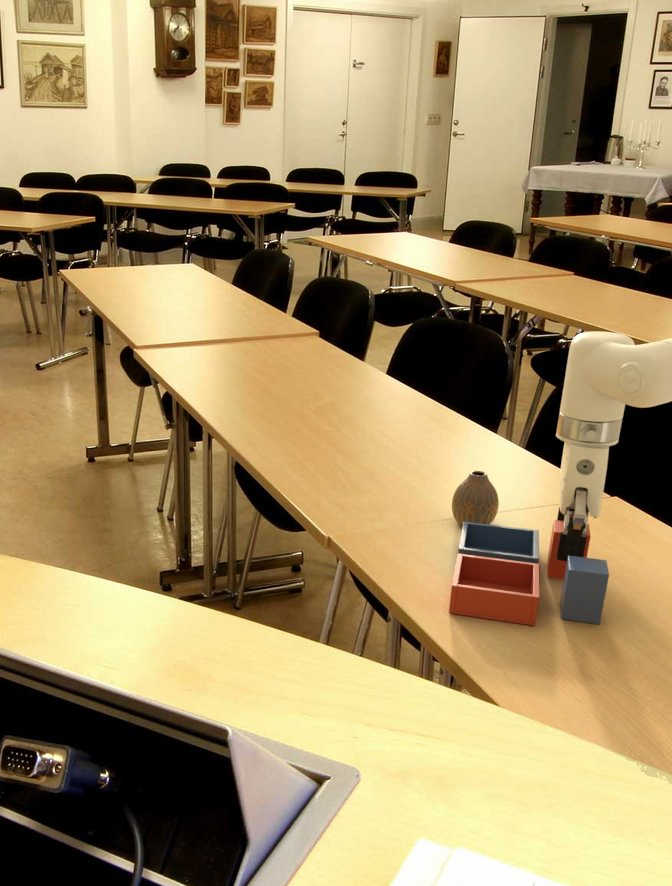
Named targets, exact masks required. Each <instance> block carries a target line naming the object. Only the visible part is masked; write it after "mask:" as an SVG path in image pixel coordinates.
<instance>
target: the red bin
mask: <svg viewBox="0 0 672 886" xmlns="http://www.w3.org/2000/svg"><path fill="white" fill-rule="evenodd" d="M539 602H540V563H538V564H536V563H534V564H533V563H528V562H521V561H513V560H505V559H497V558H489V557H482V556H474V555H466V554H458V553H457V556H456V560H455V566H454V572H453V577H452V583H451V589H450V599H449V606H448V607H449V608H448V613H449V614H455V615H461V616H467V617H474V618H480V619H487V620H493V621H500V622H505V623H506V622H508V623H512V624H513V623H514V624H521V625H527V626H533V627H534V626H536V622H537V621H536V620H537V615H538V610H539Z"/></svg>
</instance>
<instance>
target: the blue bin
mask: <svg viewBox="0 0 672 886" xmlns="http://www.w3.org/2000/svg"><path fill="white" fill-rule="evenodd" d="M457 552H458V553H457V555H458V554H466V555H474V556H482V557H489V558H497V559H505V560H513V561H521V562H528V563H533V564H534V563H536V564H540V563H539V562H540V531H539V529H532V528H531V529H530V528H523V527H515V526H505V525H498V524H481V523H473V522H463V527H462V529H461V534H460V538H459V544H458V550H457Z"/></svg>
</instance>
